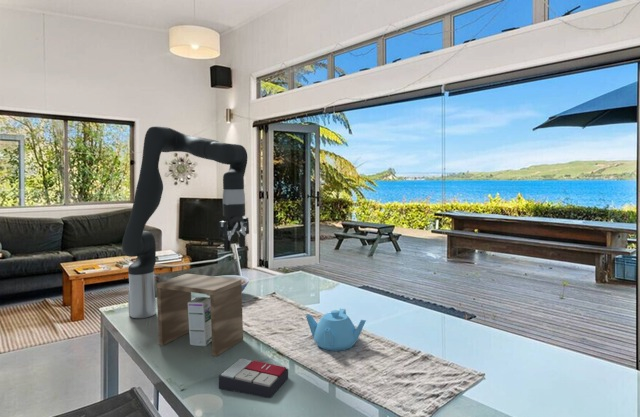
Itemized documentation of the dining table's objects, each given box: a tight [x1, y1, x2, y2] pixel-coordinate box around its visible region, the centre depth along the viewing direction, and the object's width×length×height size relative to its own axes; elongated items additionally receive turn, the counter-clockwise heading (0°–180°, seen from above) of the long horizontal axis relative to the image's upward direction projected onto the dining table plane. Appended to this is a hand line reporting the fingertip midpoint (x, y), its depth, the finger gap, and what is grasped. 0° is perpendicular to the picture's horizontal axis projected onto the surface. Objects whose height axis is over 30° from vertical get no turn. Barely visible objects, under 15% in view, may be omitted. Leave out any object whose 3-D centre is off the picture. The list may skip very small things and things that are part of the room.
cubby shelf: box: [155, 273, 244, 358], centre depth 137 cm, size 23×14×20 cm, turn 66°
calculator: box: [218, 358, 289, 399], centre depth 110 cm, size 11×4×15 cm
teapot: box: [305, 308, 367, 352], centre depth 135 cm, size 15×15×11 cm
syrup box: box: [188, 296, 212, 347], centre depth 137 cm, size 6×6×14 cm
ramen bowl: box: [205, 274, 250, 297], centre depth 189 cm, size 25×23×8 cm
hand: (235, 249), depth 145 cm, fingers open, 8 cm apart
